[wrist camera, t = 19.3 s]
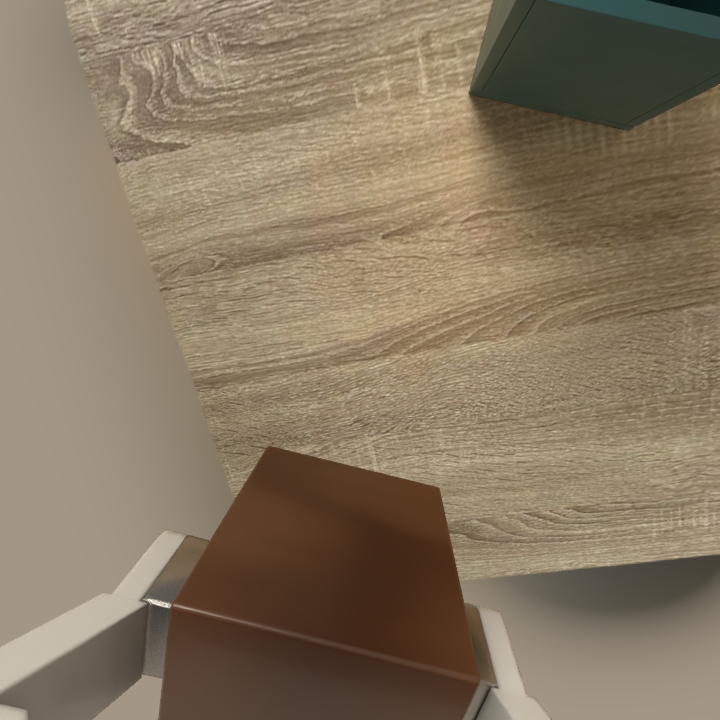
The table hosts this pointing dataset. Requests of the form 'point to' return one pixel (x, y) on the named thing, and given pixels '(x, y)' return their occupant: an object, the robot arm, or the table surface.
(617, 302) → the table surface
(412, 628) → the block
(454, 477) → the table surface
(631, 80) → the teal open-top bin
